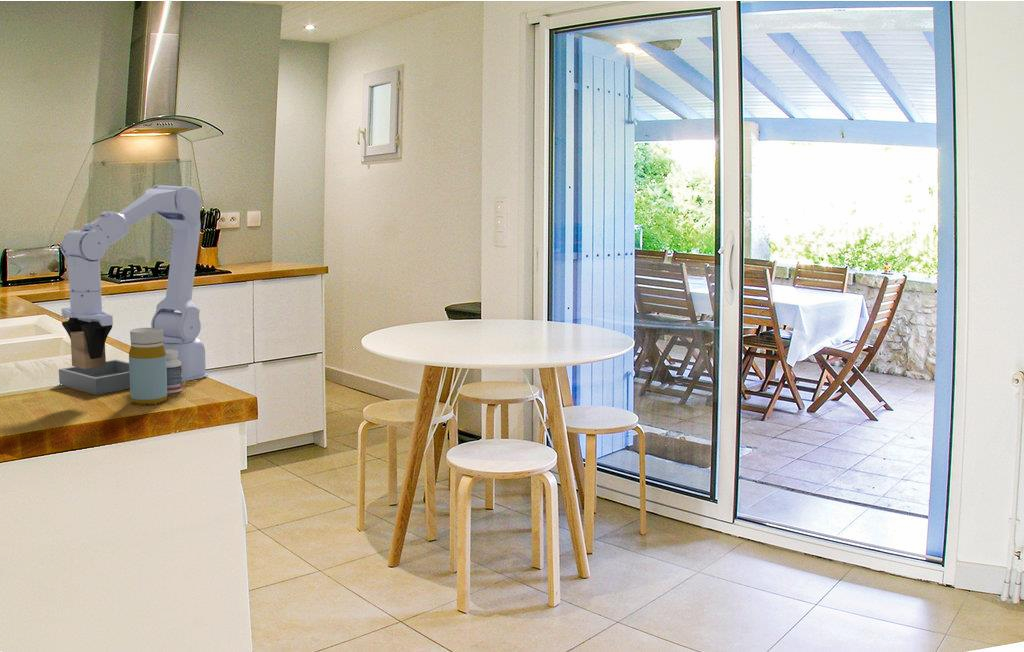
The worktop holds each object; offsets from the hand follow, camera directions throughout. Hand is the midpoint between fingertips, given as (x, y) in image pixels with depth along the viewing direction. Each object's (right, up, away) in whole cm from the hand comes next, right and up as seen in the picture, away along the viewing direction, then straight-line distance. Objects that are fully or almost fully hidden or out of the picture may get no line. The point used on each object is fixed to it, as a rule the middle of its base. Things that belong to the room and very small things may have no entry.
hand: (88, 356), depth 170 cm
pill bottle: (+12, -8, +12) cm, 18 cm away
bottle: (+11, -10, +3) cm, 15 cm away
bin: (-4, -7, +15) cm, 17 cm away
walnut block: (0, -2, 0) cm, 2 cm away
